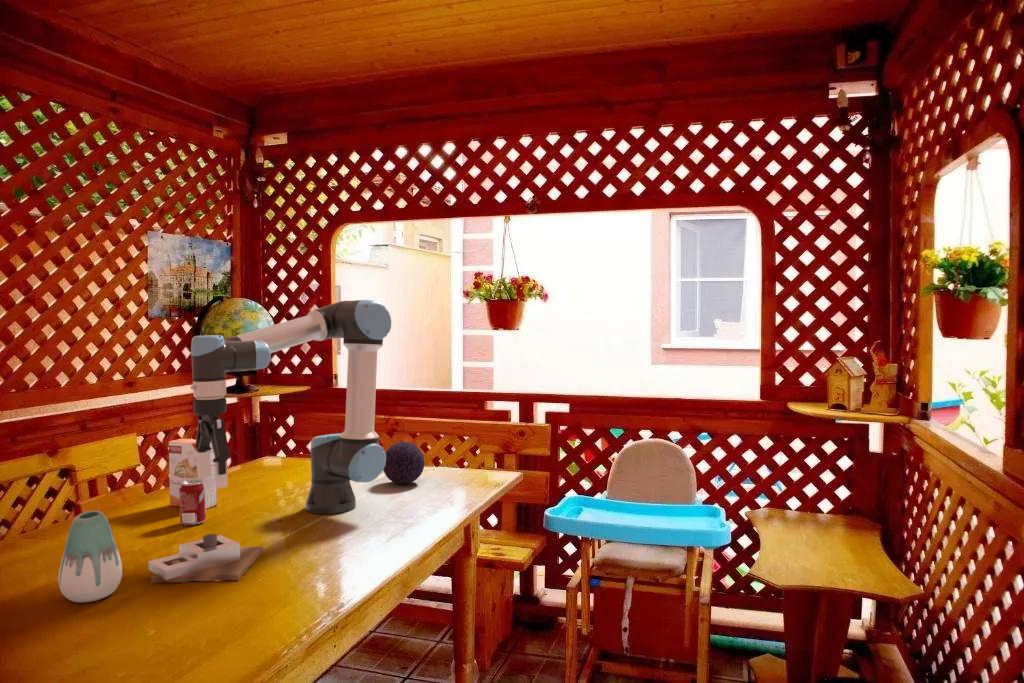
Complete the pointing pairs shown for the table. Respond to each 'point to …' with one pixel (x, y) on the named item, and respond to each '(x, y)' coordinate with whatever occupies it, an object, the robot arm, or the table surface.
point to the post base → (220, 572)
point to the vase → (90, 559)
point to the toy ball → (403, 463)
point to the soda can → (192, 502)
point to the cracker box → (189, 470)
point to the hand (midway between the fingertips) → (213, 482)
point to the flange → (196, 558)
